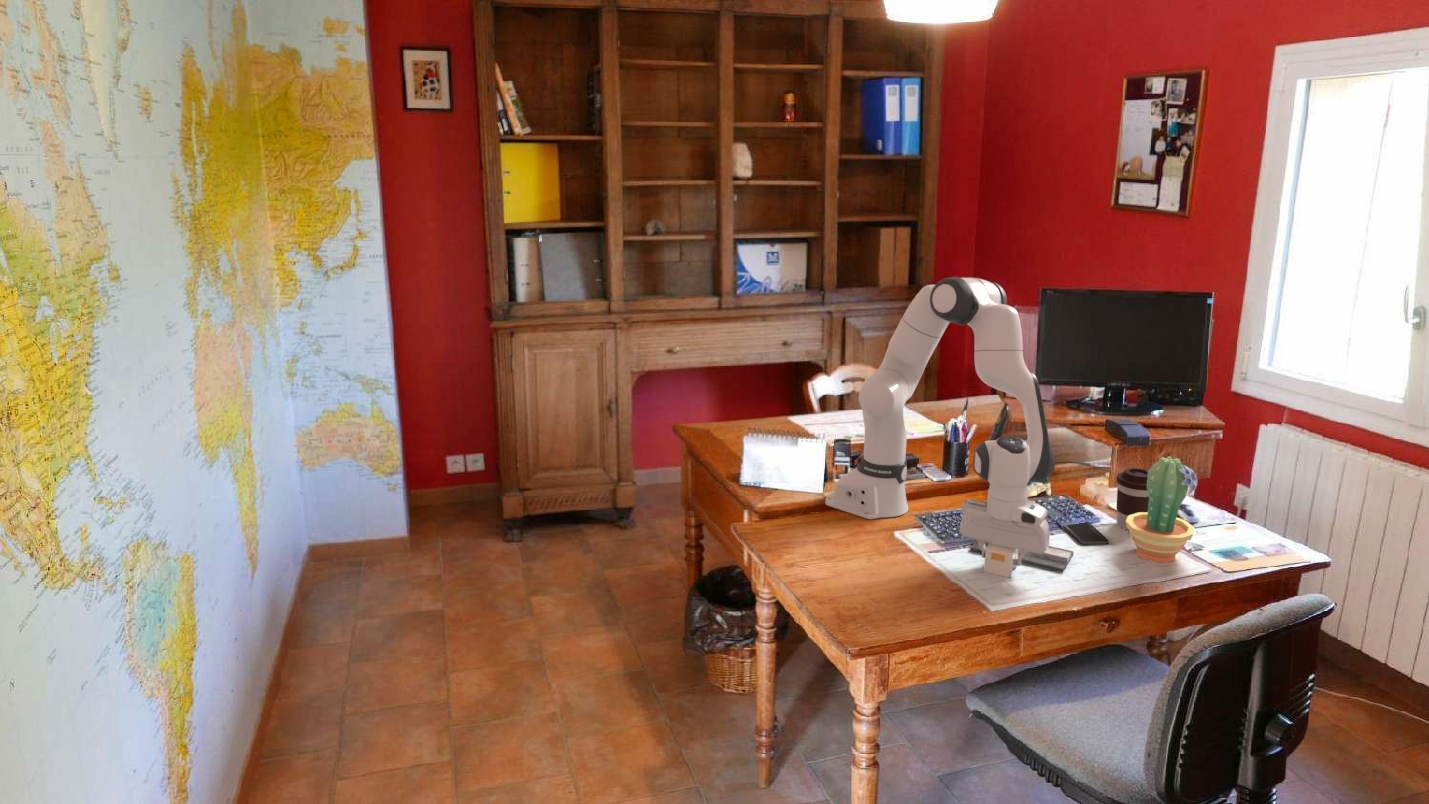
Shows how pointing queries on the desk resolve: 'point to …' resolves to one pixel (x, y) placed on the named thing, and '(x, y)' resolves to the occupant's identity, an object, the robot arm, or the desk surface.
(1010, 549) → the block
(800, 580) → the desk surface
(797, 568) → the desk surface
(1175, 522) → the potted cactus
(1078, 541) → the phone
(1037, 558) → the rail
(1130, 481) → the coffee cup
